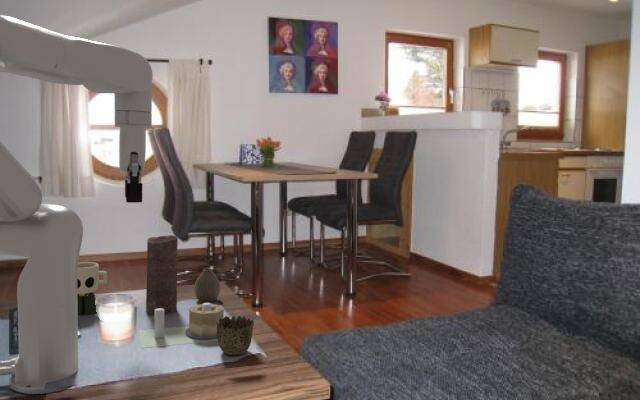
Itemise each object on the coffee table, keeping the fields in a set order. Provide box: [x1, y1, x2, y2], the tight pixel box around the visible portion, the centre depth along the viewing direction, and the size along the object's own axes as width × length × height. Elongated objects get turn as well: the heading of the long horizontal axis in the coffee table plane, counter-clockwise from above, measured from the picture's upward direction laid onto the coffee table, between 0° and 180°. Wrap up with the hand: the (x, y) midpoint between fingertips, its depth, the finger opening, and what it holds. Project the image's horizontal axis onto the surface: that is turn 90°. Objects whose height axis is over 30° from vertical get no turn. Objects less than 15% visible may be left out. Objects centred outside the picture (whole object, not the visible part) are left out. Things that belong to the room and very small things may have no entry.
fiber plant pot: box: [216, 315, 255, 357], centre depth 110 cm, size 8×7×8 cm
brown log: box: [145, 234, 179, 316], centre depth 136 cm, size 8×7×20 cm
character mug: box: [77, 261, 108, 317], centre depth 133 cm, size 11×7×13 cm, turn 113°
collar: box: [188, 303, 225, 337], centre depth 121 cm, size 7×7×5 cm
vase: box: [194, 268, 221, 304], centre depth 151 cm, size 7×7×9 cm
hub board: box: [138, 302, 218, 349], centre depth 120 cm, size 18×11×8 cm, turn 111°
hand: (133, 199), depth 120 cm, fingers open, 9 cm apart
